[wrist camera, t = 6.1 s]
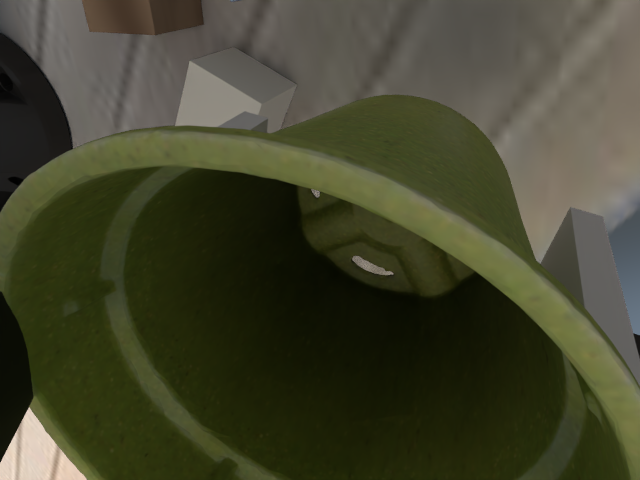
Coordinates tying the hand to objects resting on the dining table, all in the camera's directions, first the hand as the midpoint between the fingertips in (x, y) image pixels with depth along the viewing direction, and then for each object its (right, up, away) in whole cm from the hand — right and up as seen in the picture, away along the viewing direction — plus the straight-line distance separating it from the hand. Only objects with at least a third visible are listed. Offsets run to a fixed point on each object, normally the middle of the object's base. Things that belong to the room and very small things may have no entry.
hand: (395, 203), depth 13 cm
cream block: (-7, +9, +20) cm, 22 cm away
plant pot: (0, 0, 0) cm, 1 cm away
